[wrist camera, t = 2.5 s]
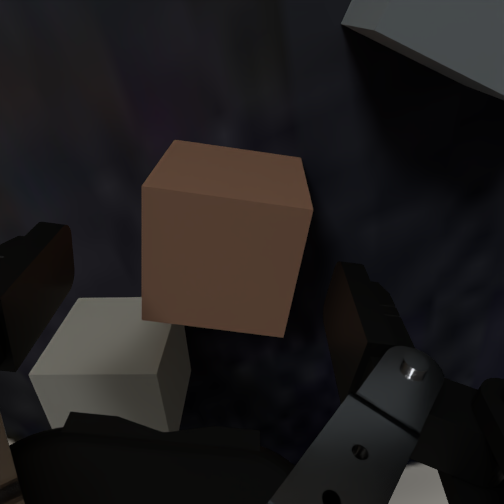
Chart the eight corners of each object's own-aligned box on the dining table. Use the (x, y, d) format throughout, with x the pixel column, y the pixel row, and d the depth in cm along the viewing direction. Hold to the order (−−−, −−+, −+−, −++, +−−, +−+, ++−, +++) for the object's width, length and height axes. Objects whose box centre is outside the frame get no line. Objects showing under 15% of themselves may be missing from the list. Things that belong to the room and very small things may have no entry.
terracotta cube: (300, 157, 16) (313, 209, 12) (279, 262, 19) (283, 337, 14) (174, 138, 16) (141, 186, 12) (170, 248, 19) (141, 320, 14)
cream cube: (180, 295, 20) (156, 374, 16) (191, 369, 22) (173, 454, 18) (79, 297, 20) (28, 374, 16) (101, 369, 23) (63, 454, 18)
